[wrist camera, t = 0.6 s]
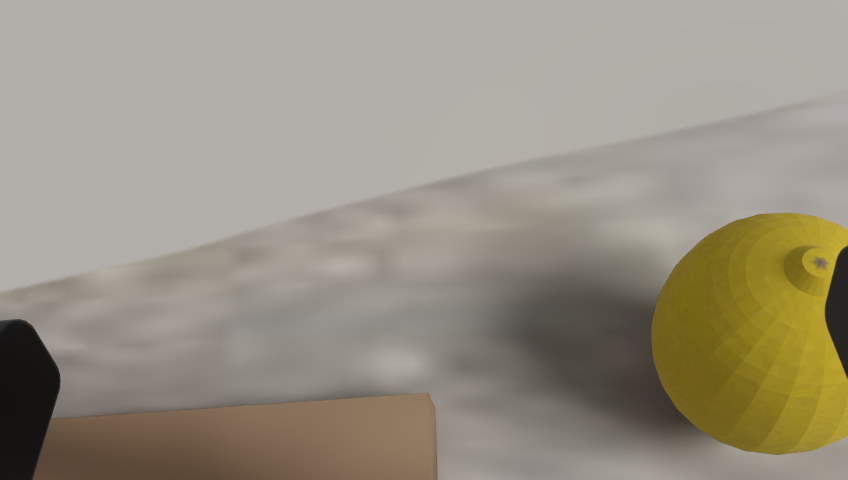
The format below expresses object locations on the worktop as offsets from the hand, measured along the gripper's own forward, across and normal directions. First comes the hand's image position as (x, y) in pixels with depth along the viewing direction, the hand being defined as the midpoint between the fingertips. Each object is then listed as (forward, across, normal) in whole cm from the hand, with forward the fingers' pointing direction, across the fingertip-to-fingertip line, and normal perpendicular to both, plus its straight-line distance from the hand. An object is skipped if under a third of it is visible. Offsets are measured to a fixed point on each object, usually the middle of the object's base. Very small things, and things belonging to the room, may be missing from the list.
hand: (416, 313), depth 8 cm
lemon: (+9, -8, +12) cm, 17 cm away
